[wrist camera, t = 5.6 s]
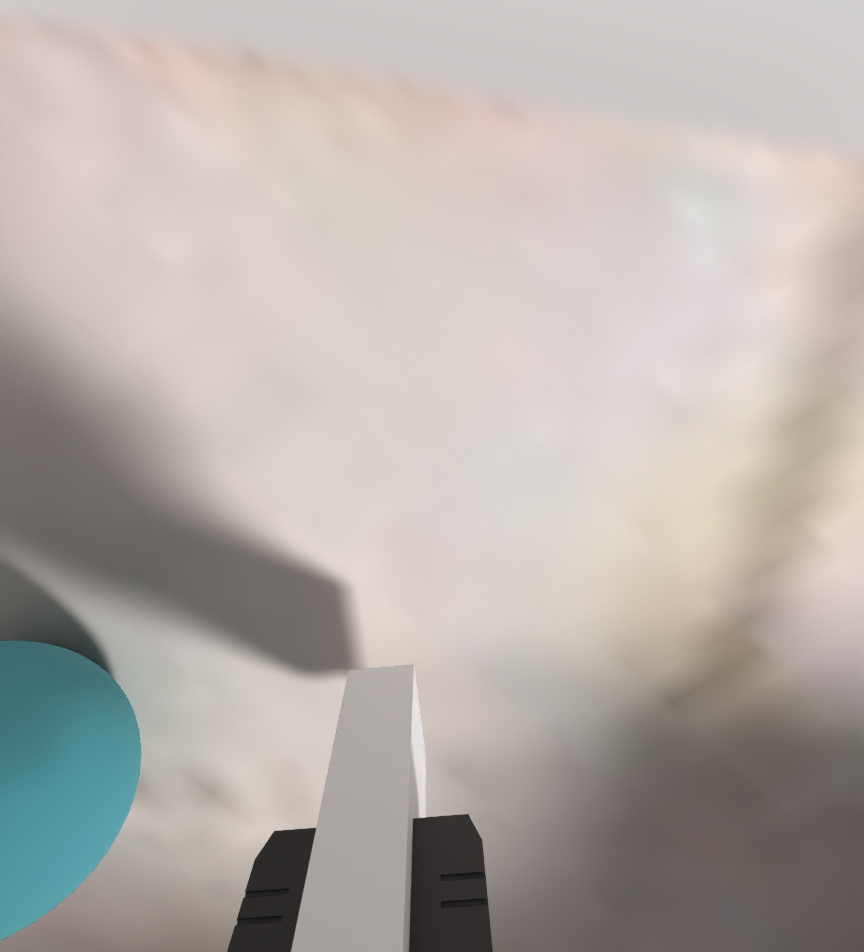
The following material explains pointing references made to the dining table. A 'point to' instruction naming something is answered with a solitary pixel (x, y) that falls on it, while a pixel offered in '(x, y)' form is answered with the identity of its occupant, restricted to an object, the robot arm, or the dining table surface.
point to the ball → (58, 775)
